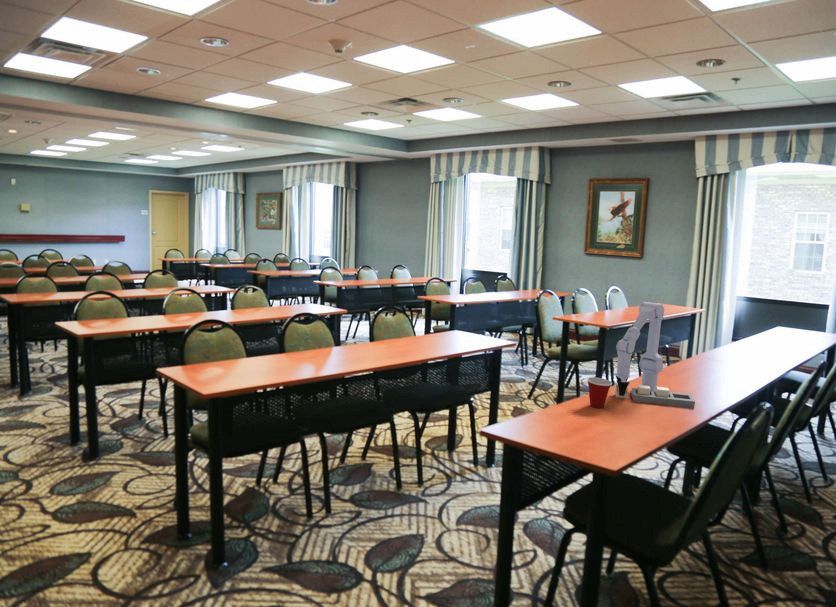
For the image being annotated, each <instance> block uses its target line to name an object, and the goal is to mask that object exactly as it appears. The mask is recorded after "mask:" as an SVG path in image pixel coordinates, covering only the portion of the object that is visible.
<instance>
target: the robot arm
mask: <svg viewBox="0 0 836 607" xmlns="http://www.w3.org/2000/svg"><path fill="white" fill-rule="evenodd" d="M664 314H665V307H664V306H663V304H662V303H657V302H656V303H655V302H648V301H642V302H641V303H640V304H639V306H638V316H637V317H636V319H635V321H634V323H633V326H630V327H629V328H628V329H627V331H626V333H625V334H624V335H623V337H622V339H620V340H618V341H617V343H616V345H615V349H616V354H617V363H616V364H617V365H616V372H615V373H613V376H615V378H616V383H617V385H618V387H619V395H620V396H624V395H625V392H626V389H627V387H628V386H630V381H628V380H629V378H630V376H631V375H630V373H631V372H630V370H631V360H632V353H633V352H634V351H635V346H636V342H637V340H638V339H639V337H640V335H641V331H640V330H641V329H642V327H644V325H645V324H646V322H647V321H649V328H648V336H647V344H646V351H645V352H644V353H643V354H641V357H640V360H639V363H638V365H639V368H640V371H641V372H642V374H641V375H642V376H641V384H640V385H645V386H650V390H656V387H658V380H659V374H660V373H661V372H662V371H663V368H664V363H663V357H662V356H661V355H660V354H659V344H660V336H661V325H662V321H663V320H664V317H665V316H664Z"/></svg>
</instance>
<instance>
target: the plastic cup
mask: <svg viewBox="0 0 836 607" xmlns="http://www.w3.org/2000/svg"><path fill="white" fill-rule="evenodd" d="M586 381H587V384H588V385H587V386H588V397H589V404H590V407H592V408H595V409H604V407H605V405H606V404H605V403H606V401H607V397H608V394H609V390H610V388H611V386H612V385H613V382H612V381H611V380H609V379H606V378H602V377H594V376H591V377H587V378H586Z"/></svg>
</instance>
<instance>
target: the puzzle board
mask: <svg viewBox="0 0 836 607" xmlns="http://www.w3.org/2000/svg"><path fill="white" fill-rule="evenodd" d="M630 394H631V398H632V402H635V403H645V404H654V405H663V406H672V407H680V408H681V407H682V408H689V409H690V408H691V409H695V405H696V400H694V398H693V395H692V394H691V393H683V392H675V391H670V389H669V387H663V386H657V387H656V390H650V386H645V385H641V384H637V388H636V387H631V393H630Z"/></svg>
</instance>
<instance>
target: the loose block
mask: <svg viewBox="0 0 836 607" xmlns="http://www.w3.org/2000/svg"><path fill="white" fill-rule="evenodd" d="M628 391H629V388H628V386H627V389H626V392H625V395H624V396H620V395H619V387H618V384H615V393H614V394H615V395H614V396H615V398H619V399H620V398H621V399H628Z"/></svg>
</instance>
